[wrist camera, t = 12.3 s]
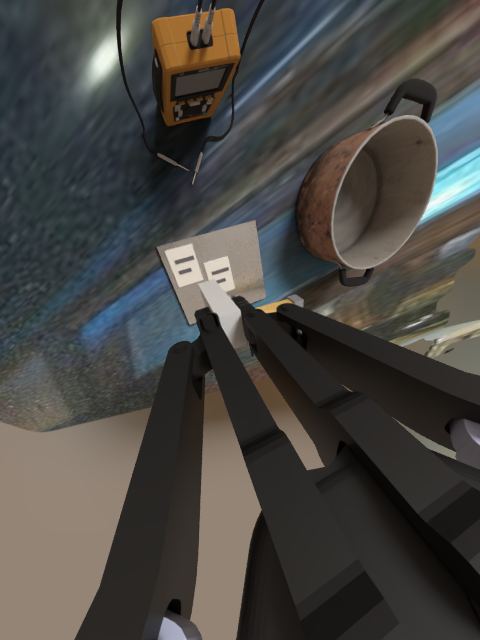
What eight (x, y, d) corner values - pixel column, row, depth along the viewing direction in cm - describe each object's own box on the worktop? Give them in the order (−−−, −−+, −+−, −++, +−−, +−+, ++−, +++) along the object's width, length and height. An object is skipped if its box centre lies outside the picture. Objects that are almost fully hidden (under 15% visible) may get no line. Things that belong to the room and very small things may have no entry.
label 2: (213, 295, 41) (213, 296, 40) (203, 263, 37) (203, 264, 36) (234, 288, 41) (235, 288, 41) (227, 256, 38) (228, 256, 37)
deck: (191, 327, 43) (194, 344, 38) (156, 246, 34) (154, 253, 28) (265, 300, 47) (279, 312, 41) (253, 220, 37) (269, 221, 31)
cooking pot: (311, 98, 31) (369, 51, 22) (403, 123, 38) (476, 95, 29) (284, 277, 45) (313, 292, 37) (354, 272, 52) (393, 283, 43)
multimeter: (164, 193, 30) (163, 169, 14) (129, 105, 25) (60, -103, 9) (246, 170, 33) (328, 125, 16) (231, 84, 27) (332, -115, 11)
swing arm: (228, 329, 38) (232, 336, 36) (225, 312, 36) (229, 318, 34) (295, 309, 42) (302, 314, 39) (295, 292, 39) (303, 297, 37)
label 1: (179, 286, 37) (179, 287, 37) (164, 251, 34) (164, 251, 33) (203, 279, 38) (203, 280, 38) (191, 243, 34) (191, 244, 34)
